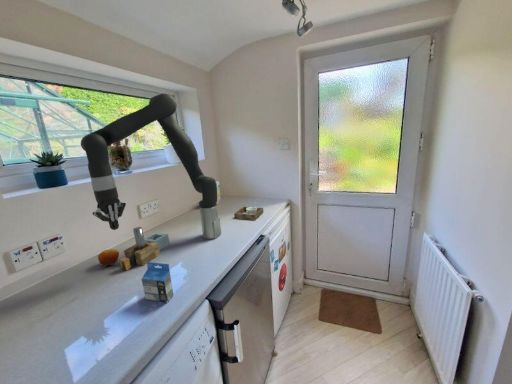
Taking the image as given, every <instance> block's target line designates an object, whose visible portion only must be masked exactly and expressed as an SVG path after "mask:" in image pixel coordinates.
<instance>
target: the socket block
mask: <svg viewBox="0 0 512 384" xmlns="http://www.w3.org/2000/svg"><path fill="white" fill-rule="evenodd" d="M145 245H146V247H145V248H143V249H142V250H138V251H137V246H136V243H135V244H133V245H131V246H130V247H128V248H126V249H124V250H123V252H124V258H128V257H129V256H131V255H133V254H134V253H135V257H136V262H137V264H136V265H138V266H142V267H143V266H145V265H147V262H152V260H154V259H156V258H157V257H159V256H160V254H161V253H160V250H159V247H158V243H154V242H147V241H145Z"/></svg>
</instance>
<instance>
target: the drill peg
mask: <svg viewBox="0 0 512 384" xmlns="http://www.w3.org/2000/svg"><path fill="white" fill-rule="evenodd" d="M132 232H133V235H134V240H135V244H136V246H137V251H138V250H142V249H143V248H145V247H146V245H145V240H144V238H145V237H144V236H145V235H144V230H143V227H142V226H136V227H134V228H133V229H132Z"/></svg>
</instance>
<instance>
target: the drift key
mask: <svg viewBox="0 0 512 384" xmlns="http://www.w3.org/2000/svg"><path fill="white" fill-rule="evenodd" d="M119 263H120V266H121V270H123V271H126V272H128V271H129V270H130V269H131V268H132V267H134V266H135V265H137V262H136V257H135V253H134V254H133V255H131V256H129V257H128V258H125V257H122V258H120V259H119Z"/></svg>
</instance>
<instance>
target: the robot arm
mask: <svg viewBox="0 0 512 384" xmlns="http://www.w3.org/2000/svg"><path fill="white" fill-rule="evenodd" d="M176 111H177V102H176V99H175V98H174V97H173V96H172V95H170V94H168V93H160V94H156V95H154V96H152V97H151V98H150V99H149V101H148V104H147V105H146V106H144V107H141V108H139V109H138V110H136V111H133V112H130V113H128V114H126V115H124V116H121V117H119V118H117V119H116V120H113V121H111V122H110V123H108V124H106V125H105V126H103V127H102V128H100V129H99V128H98V129H97V130H94V131H93V132H91V133H88V134H86V135H84V136H83V137H82V138H81V140H80V147H81V149H82V150H83V151H84V152H85V154H86V159H87V162H88V163H87V167H88V172H89V176H90V180H91V186H92V191H93V195H94V198H95V201H96V203H97V205H96V208H97V209H96V210H95V211H93V212H92V215H93V216H94V217H96V218H98V219H99V220H101V221H102V222H108V225H109V228H110V229H111V230H113V231H116V230H117V229H119V227H120V224H119V218H120V217H122V216H123V214H124V210H125V208H126V206H127V204H126V203H125V202H123V201H120V199H119V193H118V189H117V185H116V180H115V178H114V177H115V176H113V171H112V167H111V164H110V157H109V156H110V155H109V148H108V147H110V146H111V145H113V144H115V143H118V142H121V141H123V140H125V139H126V138H128V137H129V136H132V135H133V134H135V133H137V132H138V131H140V130H141V129H142V128H144V127H147V126H148V125H150V124H152V123H154V122H157V123H158V125H160V127H161V128H162V129H163V132H164V134H165V135H166V137H167V139H168V140H169V142H170V144H171V146H172V149H173V150H174V152H175V154H176V156H177V157H178V159H179V160H180V163H181V164H182V165H183V167H184V169H185V170H186V172H187V174H188V177H189V179H190V182H191V184H192V185H193V188H194V190H195V191H196V192H198V193H199V194H201V197H202V199H201V200H200V201H199V202H198V207H199V215H200V222H201V232H202V238H204V239H206V240H212V239H215V240H216V239H217V238H218V237H219V236H221V235H222V226H221V218H219V214H218V213H219V212H218V206H217V205H218V204H217V199H218V196H217V184H216V182H217V181H216V180H215V178H214V177H212V176H207V175H205V174H204V172H203V171H202V169H201V167H200V165H199V154H198V151H197V148H196V147H195V144H194V143H193V141H192V139H191V137H190V136H189V135H188V134H187V133H186V132H185V131H184V130H183V129H182V128H181V127H180V126H179V124H178V123H177V121H176V118H175V117H174V114H175V113H176Z"/></svg>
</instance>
